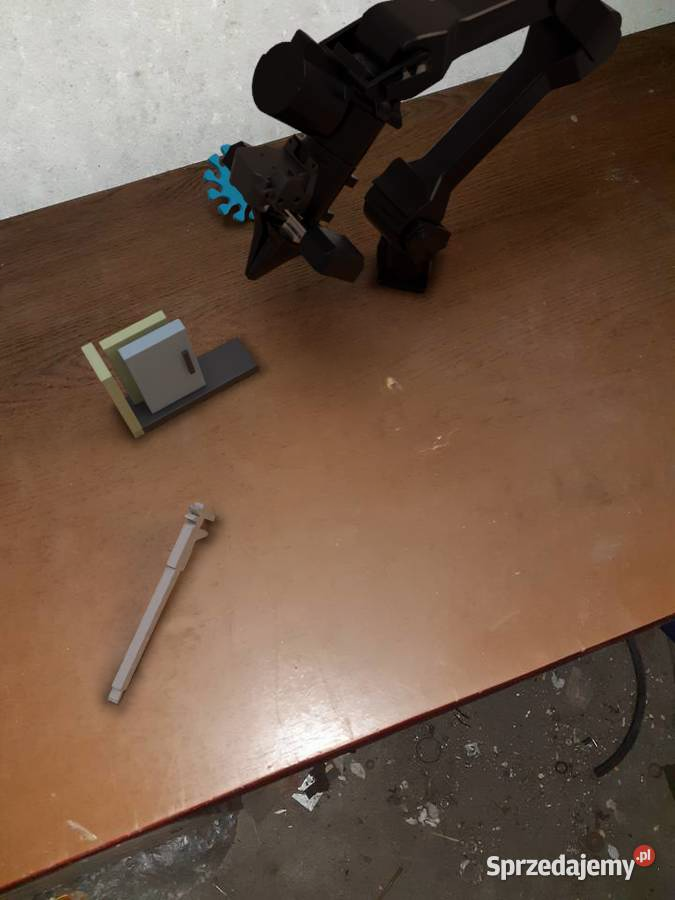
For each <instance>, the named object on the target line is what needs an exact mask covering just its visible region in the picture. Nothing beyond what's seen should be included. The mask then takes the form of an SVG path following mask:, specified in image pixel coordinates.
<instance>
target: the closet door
mask: <svg viewBox="0 0 675 900" xmlns="http://www.w3.org/2000/svg"><path fill="white" fill-rule="evenodd" d="M118 352H119V354H120V356H121V358H122V360H123V361H124V363H125V365H126V367H127V369H128V371H129V373H130V375H131V376H132V378H133V380H134V382H135V384H136V386H137V388H138V390H139V391H140V393H141V395H142V397H143V399H144V401H145V403H146V405H147V406H148V408H149V409H150V411H151V413H152V414H153V413H155V412H157V411H159V410H161V409H162V408H164V407H166V406H168V405H170V404H172V403H173V402H175V401H177V400H179V399H181V398H183V397H184V396H186V395H188V394H190V393H192V392H193V391H195V390H197V389H199V388H201V387H203V386H204V385H206V383H205V380H204V377H203V375H202V372H201V369H200V366H199V364H198V361H197V358H198V357H197V356H196V353H195V351H194V347H193V345H192V342H191V339H190V337H189V334H188V331H187V328H186V327H185V325H184V324H183V322H182V321H181V319H180V318H176V319H174V320H172V321H170V322H169V323H168V324H166V325H164V326H162V327H160V328H158V329H157V330H155V331H153V332H151V333H149V334H147V335H145V336H143V337H141V338H139V339H137V340H135V341H133V342H131V343H129V344H128V345H126V346H124V347H122V348H120V349H118Z"/></svg>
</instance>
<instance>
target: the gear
mask: <svg viewBox="0 0 675 900" xmlns="http://www.w3.org/2000/svg"><path fill="white" fill-rule="evenodd" d="M231 145H232V144H230V143H229V144H228V143H226V144H222V145H221V146H220V148H219V149H220V152H221V154H222V156H223V157H224V156H225V154H226V153H227V151H228V149H229V147H230V146H231ZM207 162H208V164H210V165H211V166H213V167H214V168H215V169H216V171H217V173H218V175H219V178H217V176H215V174H214V172H213V171H212V170H211V169H207V170H205V172H204V174H203V177H202V178H203V179H202V180H204V181H205V182H206V183H209V182H210V183H213V184H215V185H217V186H218V187H219V188H220V192H219V191H218V190H216V188H210V189H208V190H207V191H206V194H207V199H208V200H209V201H214V200H215V199H217V198H225V199H227V200H228V201H227V202H228V203H226V204H225V203H221V204H220V205H217V210H218V212H219V213H220V215H221V216H225V215H227V214H228V213H229V211H230V210H231V208H232V207H233V206H235V205H237V206H238V207H239V211H237V212H235V213H234V214H233V215H232V218H233V220H234V221H236V222H239V223H242V222H244V221H245V210H246V208H247V206H248V204H247V203H246V202H245V201H244V200H243V196H242V195H241V194H240V192H239V191H238V190H237V189H236V188H235V186H234V187H233V186H232V185H231V184H230V183H229V177H230V173H231V172H230V171H229V170H228V168H227V167H226V166H225V165H224V164H223V165H224V166H222V165H221V164H220V156H219V154H218V153H215V152H214V153H213V154H211V155H210V156H209V157H208V158H207ZM248 217H249V220H253V221H255V219H254V216H253V213H252V210H250V212H249V214H248Z"/></svg>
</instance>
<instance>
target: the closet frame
mask: <svg viewBox="0 0 675 900" xmlns="http://www.w3.org/2000/svg"><path fill="white" fill-rule="evenodd" d="M168 323H170V322H169V320H168V317H167V315H166V314H165V313H164V311H163V310H162V309H161V310H158V311H157V312H154V313H153V314H151V315H149V316H147V317H145V318H143V319H141V320H139V321H137V322H135V323H133V324H131V325H129V326H127V327H125V328H124V329H121V330H119V331H117V332H116V333H113V334H111V335H109V336H107V337H106V338H104V339H102V340H100V341H98V344H99V346H100V347H101V349H102V351H103V353H104V355H105V356H106V358H107V360H108V362H109V364H110V365H111V367H112V369H113V370H114V372H115V374H116V376H117V377H118V379H119V381H120V383H121V384H122V386H123V388H124V390H125V392H126V393H127V395H125V396H124V394H123V392H122V390H121V389H120V387H119V385H118V384H117V382H116V380H115V378H114V377H113V375H112V373H111V372H110V370H109V369H108V367H107V365H106V364H105V361H104V360H103V358H102V357H101V355H100V354H99V352H98V350H97V349H96V347H95V346H94V344H93V343H92V342H89V343H87V344H85V345H83V346H81V347H80V349H81V350H82V353H83V354H84V356H85V358H86V359H87V361H88V363H89V364H90V366H91V368H92V369H93V371H94V373H95V374H96V376H97V377H98V379H99V381H100V382H101V385H102V386H103V387H104V389H105V390H106V393H107V394H108V395H109V397H110V399H111V401H112V402H113V404H114V405H115V407H116V409H117V411H118V412H119V414H120V415H121V417H122V418H123V420H124V421H125V423H126V425H127V426H128V428H129V430H130V431H131V433H132V436H134V438H135V439H137V438H139V437H141V436H143V435H145V434H146V433H149V432H150V431H152V430H153V429H155V428H158V427H159V426H161V425H162V424H165V423H166V422H168V421H170V420H172V419H173V418H175V417H177V416H179V415H181V414H183V413H185V412H186V411H188V410H190V409H192V408H194V407H195V406H197V405H199V404H200V403H203V402H204V401H207V400H208V399H209V398H211V397H213V396H215V395H217V394H219V393H220V392H222V391H224V390H226V389H228V388H230V387H231V386H233V385H235V384H237V383H238V382H240V381H242V380H244V379H246V378H248V377H249V376H251V375H252V374H253V375H254V374H255V373H257V372H259V370H260V369H259V364H258V363H257V362H256V360H255V359H254V358H253V356H252V355H251V354H250V352H249V351H248V349H247V348H246V347H245V346H244V344H243V342H241V340H240V339H239V337H238V336H236V337H235V336H234V338H232V339H230V340H228V341H226V342H225V343H222V344H220V345H219V346H217V347H215V348H213V349H211V350H209V351H207V352H206V353H203V354H202V355H200V356H198V357H196V358H197V361H198V364H199V366H200V369H201V372H202V375H203V377H204V380H205V383H206V385H204V386H203V387H201V388H199V389H197V390H195V391H193V392H192V393H190V394H188V395H186V396H184V397H183V398H181V399H179V400H177V401H175V402H173V403H172V404H170V405H168V406H166V407H164V408H162V409H161V410H159V411H157V412H155V413H153V414H152V413H151V411H150V409H149V408H148V406H147V405H146V403H145V401H144V399H143V397H142V395H141V393H140V391H139V390H138V388H137V386H136V384H135V382H134V380H133V378H132V376H131V375H130V373H129V371H128V369H127V367H126V365H125V363H124V361H123V360H122V358H121V356H120V354H119V352H118V349H120V348H122V347H124V346H126V345H128V344H129V343H131V342H133V341H135V340H137V339H139V338H141V337H143V336H145V335H147V334H149V333H151V332H153V331H155V330H157V329H158V328H160V327H162V326H164V325H166V324H168Z"/></svg>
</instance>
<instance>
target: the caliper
mask: <svg viewBox="0 0 675 900" xmlns="http://www.w3.org/2000/svg"><path fill="white" fill-rule="evenodd" d="M188 510H189V512H188V513H186V514H185V515H184V516H183V518H185V519H187V521H186V522H184V524H183V526H182V528H181V530H180V532H179V534H178V537H177V540H176V542H175V544H174V546H173V549H172V551H171V552H170V554H169V557H168V559H167V561H166V564H165V566H166V567H165V569H164V572H163V573H162V576H161V578H160V580H159V582H158V585H157V586H156V589H155V591H154V593H153V595H152V597H151V600H150V602H149V604H148V606H147V608H146V610H145V613H144V615H143V617H142V619H141V620H140V624H139V625H138V627H137V630H136V632H135V633H134V636H133V638H132V641H131V642H130V645H129V647H128V649H127V651H126V654H125V656H124V658H123V659H122V662H121V664H120V667H119V668H118V670H117V673H116V675H115V678H114V680H113V682H112V684H111V687H112V688H111V691H110V692H109V695H108V698H107V700H108V701H110V702H112V703H114V704H116V705H118V704H119V702H120V701H121V697H122V695H123V694H124V691H126V690H127V689H128V687H129V685H130V682H131V680H132V678H133V676H134V674H135V671H136V669H137V667H138V665H139V662H140V660H141V658H142V656H143V653H144V652H145V649H146V647H147V645H148V642H149V640H150V639H151V636H152V635H153V632H154V629H155V627H156V625H157V623H158V621H159V619H160V616H161V614H162V612H163V610H164V608H165V605H166V603H167V602H168V599H169V597H170V595H171V592H172V591H173V588H174V585H175V583H176V582H177V579H178V577H179V575H180V573H181V572H184V571H185V568H186V565H187V563H188V561H189V559H190V557H191V555H192V551H193V548H194V545H195V543H196V541H198V540H201V539H204V538H206V537H208V535H209V532H208V531H206V530H205V529H203V528H201V527H202V524H203V522H204V521H205V520H208V521H210V522H213V523H214V522H215V520H216V516H215V514H214V512H213V510H212V508H211V506H209V505H206V504H203V503H200V502H198V501H194V503H193V505H192V504H189V505H188Z"/></svg>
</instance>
